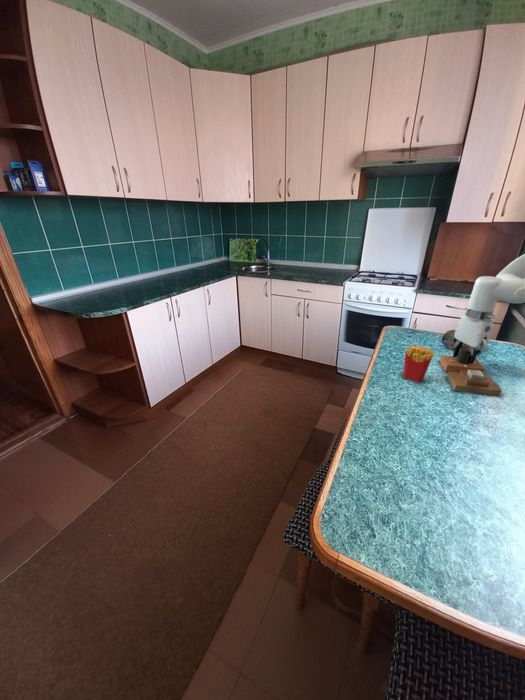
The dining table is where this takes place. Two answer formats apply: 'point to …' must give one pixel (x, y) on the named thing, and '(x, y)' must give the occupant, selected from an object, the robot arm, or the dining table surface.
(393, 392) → the dining table surface
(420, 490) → the dining table surface
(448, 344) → the tin
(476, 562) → the dining table surface
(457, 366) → the volume box
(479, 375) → the key
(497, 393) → the stepped nested square plaque
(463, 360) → the volume knob
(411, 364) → the french fries
